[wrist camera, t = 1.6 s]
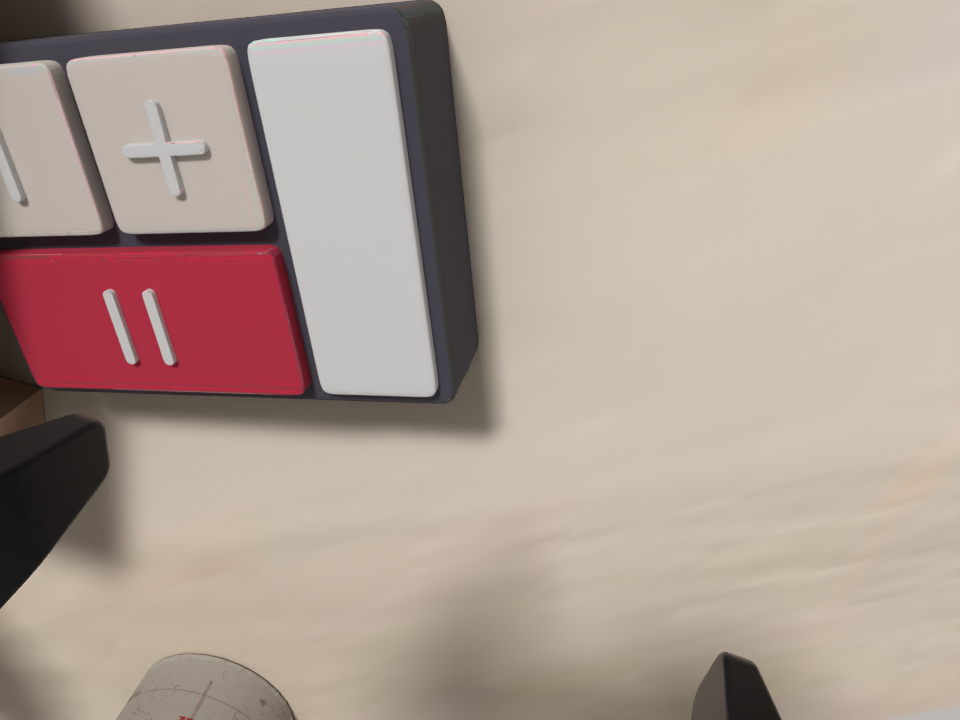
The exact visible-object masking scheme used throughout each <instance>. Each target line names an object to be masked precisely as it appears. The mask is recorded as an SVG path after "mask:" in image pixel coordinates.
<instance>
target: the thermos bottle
mask: <svg viewBox="0 0 960 720" xmlns="http://www.w3.org/2000/svg"><path fill="white" fill-rule="evenodd" d="M116 720H293V717H292V714H291V711H290V709H289V707H288V705H287V703H286V702H285V700H284V699H283V698H282V696H281V695H280V694H279V693H278V691H277V690H276V689H275V688H273V687H272V686H271V685H270V684H269V683H268V682H267V681H266V680H264V679H263V678H261V677H260V676H258V675H257V674H255V673H254V672H252V671H250V670H248V669H247V668H245V667H243V666H241V665H239V664H236V663H233V662H231V661H228V660H225V659H222V658H218V657H214V656H209V655H202V654H179V655H175V656H171V657H167V658H165V659H163V660H161V661H159V662H157V663H156V664H155V665H154V666H153V667H152V668H151V669H150V670H149V671H148V672H147V673H146V675H145V676H144V678H143V679H142V681H141V683H140V684H139V686H138V687H137V689H136V690H135V692H134V693H133V695H132V696H131V698H130V699H129V701H128V702H127V704H126V705H125V707H124V708H123V710H122V711H121V713H120V714H119V716H118V717H117V719H116Z"/></svg>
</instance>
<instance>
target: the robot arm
mask: <svg viewBox="0 0 960 720" xmlns="http://www.w3.org/2000/svg"><path fill="white" fill-rule="evenodd" d="M109 466H110V460H109V453H108V446H107V439H106V432H105V428H104V426H103V425H102V423H101V422H99V421H97V420H94V419H91V418H88V417H86V416H83V415H80V414H71V415H67V416H64V417H61V418H58V419H54V420H51V421H48V422H45V423H42V424H39V425H35V426H32V427H29V428H26V429H23V430H20V431H16V432H13V433H10V434H7V435H4V436H1V437H0V609H1V608H2V606H3V605H4V604H5V603H6V602H7V601H8V600H9V599H10V598H11V597H12V596H13V594H14V593H15V592H16V591H17V590H18V589H19V588H20V587H21V586H22V585H23V583H24V582H25V581H26V580H27V579H28V578H29V577H30V576H31V575H32V573H33V572H34V571H35V570H36V569H37V568H38V566H39V565H40V564H41V563H42V562H43V560H44V559H45V558H46V557H47V555H48V554H49V553H50V552H51V550H52V549H53V548H54V546H55V545H56V544H57V542H58V541H59V540H60V538H61V537H62V536H63V534H64V533H65V532H66V530H67V529H68V528H69V526H70V525H71V524H72V522H73V521H74V520H75V518H76V517H77V516H78V514H79V513H80V512H81V510H82V509H83V508H84V506H85V505H86V504H87V502H88V501H89V500H90V498H91V497H92V496H93V494H94V493H95V492H96V490H97V489H98V488H99V486H100V485H101V484H102V482H103V481H104V479H105V477H106V475H107V473H108V470H109ZM691 720H782V719H781V717H780V715H779V713H778V711H777V709H776V706H775V704H774V702H773V700H772V698H771V696H770V693H769V691H768V689H767V687H766V685H765V683H764V680H763V678H762V676H761V674H760V672H759V670H758V668H757V666H756V665H755V664H754V663H753V662H752V661H750V660H748V659H745V658H742V657H740V656H737V655H734V654H731V653H729V652H722V653H720V654H719V655H718V656H717V658H716V659H715V661H714V663H713V664H712V666H711V668H710V669H709V671H708V673H707V674H706V676H705V677H704V679H703V681H702V682H701V684H700V686H699V688H698V690H697V693H696V696H695V700H694V705H693V711H692V718H691Z"/></svg>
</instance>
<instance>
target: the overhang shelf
mask: <svg viewBox="0 0 960 720" xmlns="http://www.w3.org/2000/svg"><path fill="white" fill-rule="evenodd" d="M42 423H45V415H44V405H43V395H42V388H38V387H35V386H31V385H28V384H24V383H21V382H17V381H14V380H10V379H7V378H3V377H0V437H1V436H4V435H7V434H10V433H13V432H16V431H20V430H23V429H26V428H29V427H32V426H35V425H39V424H42Z"/></svg>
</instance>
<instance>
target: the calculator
mask: <svg viewBox="0 0 960 720" xmlns="http://www.w3.org/2000/svg"><path fill="white" fill-rule="evenodd" d="M0 300H1V303H2V305H3V307H4V310H5V312H6V314H7V317H8V319H9V321H10V324H11V326H12V328H13V331H14V333H15V335H16V338H17V340H18V342H19V345H20V347H21V349H22V352H23V354H24V356H25V359H26V361H27V363H28V366H29V368H30V370H31V373H32V375H33V377H34V379H35V381H36V382H37V383H38V384H39V385H40V386H43V387H46V388H48V389H51V390H56V391H83V392H112V393H142V394H171V395H201V396H230V397H260V398H289V399H318V400H348V401H377V402H407V403H448V402H450V401H451V400H452V399H453V398H454V397H455V395H456V393H457V391H458V389H459V387H460V384H461V382H462V380H463V378H464V376H465V374H466V372H467V370H468V367H469V365H470V363H471V361H472V359H473V357H474V354H475V352H476V350H477V348H478V333H477V323H476V313H475V304H474V294H473V284H472V274H471V265H470V255H469V245H468V235H467V226H466V216H465V206H464V197H463V187H462V177H461V167H460V158H459V148H458V138H457V128H456V119H455V109H454V99H453V90H452V80H451V70H450V60H449V51H448V41H447V31H446V22H445V16H444V12H443V10H442V8H441V7H440V5H439V4H437V3H436V2H434V1H432V0H414V1H404V2H394V3H384V4H374V5H364V6H354V7H344V8H334V9H324V10H314V11H304V12H295V13H285V14H276V15H266V16H256V17H246V18H235V19H225V20H215V21H205V22H195V23H184V24H174V25H164V26H154V27H144V28H134V29H123V30H113V31H103V32H93V33H83V34H72V35H62V36H52V37H42V38H32V39H22V40H11V41H1V42H0Z"/></svg>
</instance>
